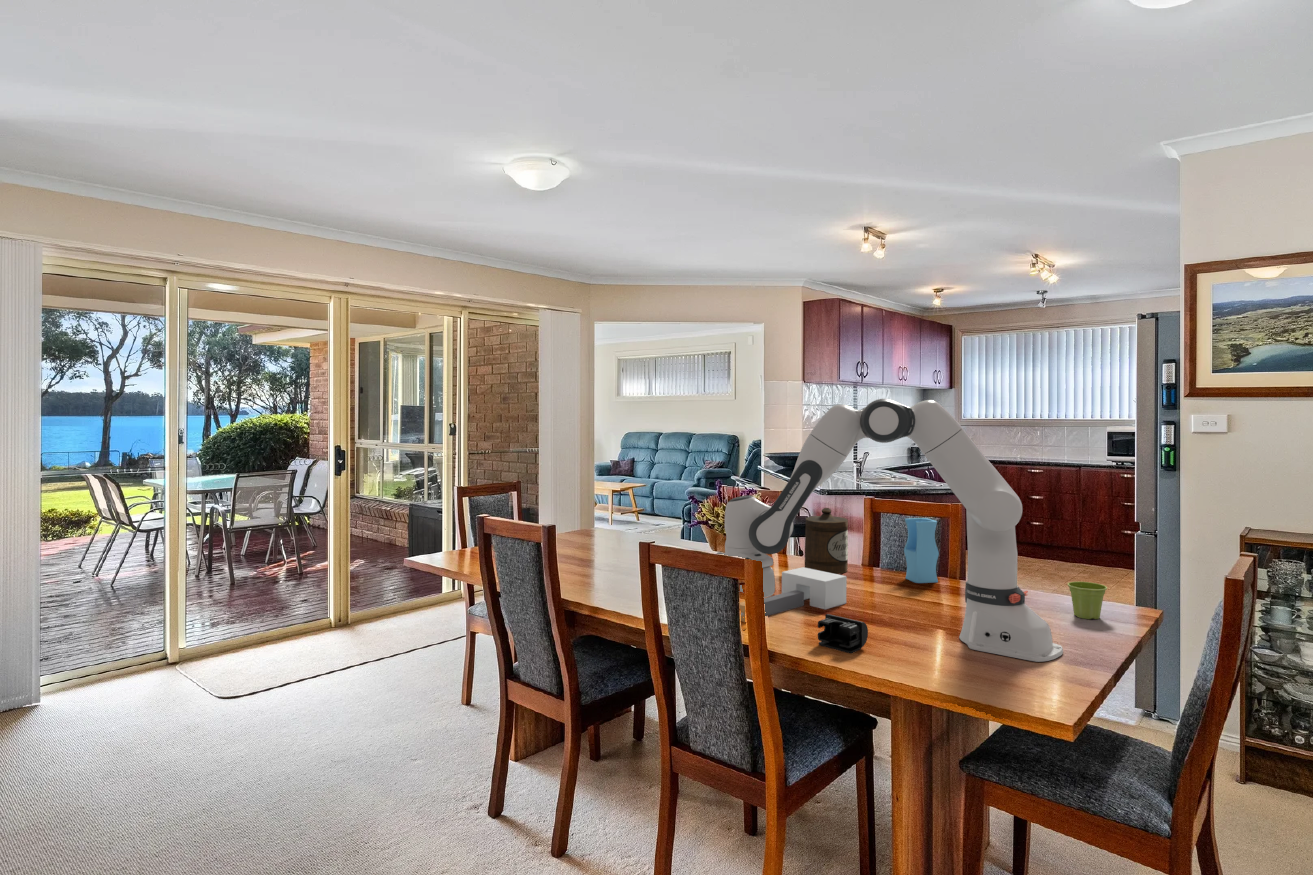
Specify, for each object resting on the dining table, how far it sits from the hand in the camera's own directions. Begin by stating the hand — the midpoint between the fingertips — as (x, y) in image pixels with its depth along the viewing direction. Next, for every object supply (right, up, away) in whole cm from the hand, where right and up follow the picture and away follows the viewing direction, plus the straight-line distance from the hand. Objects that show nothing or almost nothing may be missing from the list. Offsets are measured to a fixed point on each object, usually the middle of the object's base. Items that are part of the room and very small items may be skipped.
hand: (742, 607), depth 197 cm
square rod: (+9, -3, +9) cm, 13 cm away
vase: (+65, -2, +46) cm, 80 cm away
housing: (+24, -3, +21) cm, 31 cm away
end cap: (+22, -5, -20) cm, 30 cm away
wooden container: (+37, -1, +62) cm, 72 cm away
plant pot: (+95, -4, +4) cm, 95 cm away
